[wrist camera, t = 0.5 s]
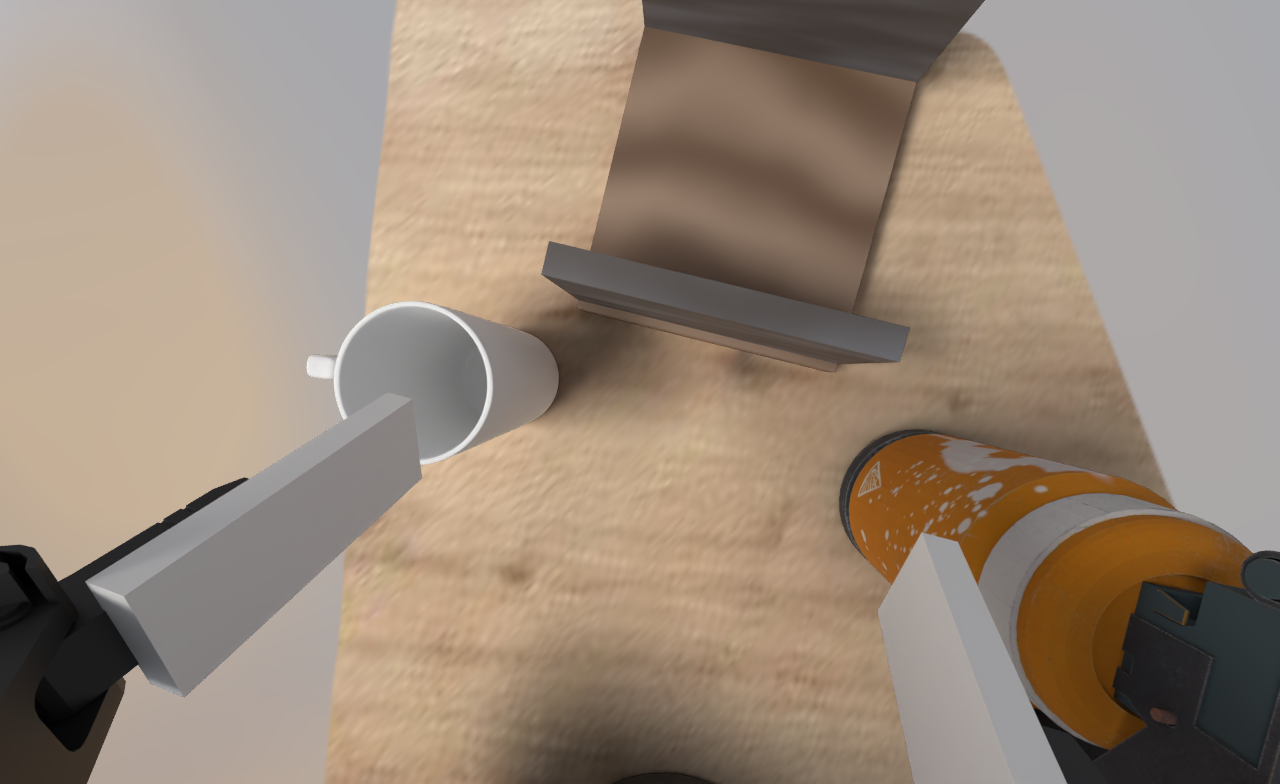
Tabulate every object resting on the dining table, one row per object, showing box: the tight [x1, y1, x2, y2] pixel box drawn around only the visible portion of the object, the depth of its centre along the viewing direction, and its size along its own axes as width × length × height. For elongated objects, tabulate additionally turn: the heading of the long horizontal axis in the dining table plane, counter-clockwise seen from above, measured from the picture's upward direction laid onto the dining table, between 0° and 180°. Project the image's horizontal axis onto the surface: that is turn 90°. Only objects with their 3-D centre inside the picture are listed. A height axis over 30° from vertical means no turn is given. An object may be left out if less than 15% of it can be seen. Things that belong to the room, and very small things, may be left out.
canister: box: [839, 430, 1280, 784], centre depth 20 cm, size 9×11×20 cm
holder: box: [542, 0, 985, 372], centre depth 25 cm, size 19×16×10 cm
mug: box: [307, 301, 559, 465], centre depth 26 cm, size 10×7×12 cm, turn 81°
